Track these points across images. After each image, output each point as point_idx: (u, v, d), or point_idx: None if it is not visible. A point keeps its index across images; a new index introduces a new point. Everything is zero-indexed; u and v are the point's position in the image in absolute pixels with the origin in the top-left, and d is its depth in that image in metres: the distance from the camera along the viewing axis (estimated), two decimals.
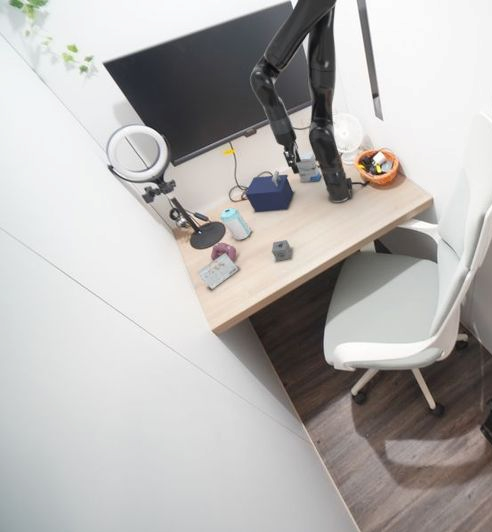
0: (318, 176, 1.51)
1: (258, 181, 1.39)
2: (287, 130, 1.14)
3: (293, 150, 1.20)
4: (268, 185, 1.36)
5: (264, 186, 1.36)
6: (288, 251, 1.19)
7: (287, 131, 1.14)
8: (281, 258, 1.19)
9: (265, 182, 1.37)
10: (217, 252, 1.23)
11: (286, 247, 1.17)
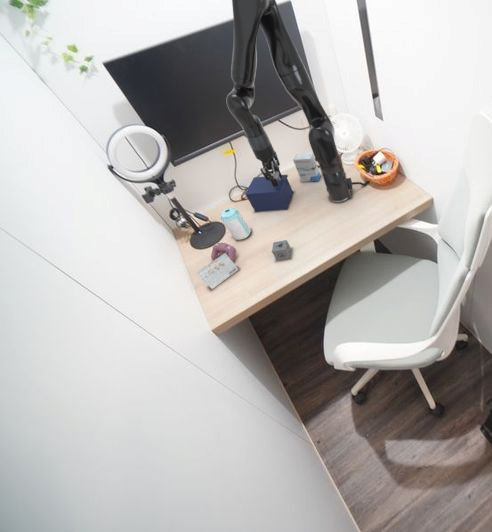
0: (318, 176, 1.51)
1: (258, 181, 1.39)
2: (264, 147, 1.21)
3: (271, 165, 1.27)
4: (268, 185, 1.36)
5: (264, 186, 1.36)
6: (288, 251, 1.19)
7: (264, 148, 1.21)
8: (281, 258, 1.19)
9: (265, 182, 1.37)
10: (217, 252, 1.23)
11: (286, 247, 1.17)
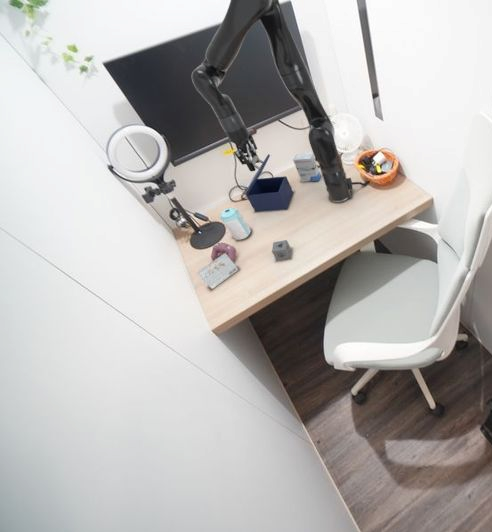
0: (318, 176, 1.51)
1: (253, 177, 1.37)
2: (236, 128, 1.15)
3: (246, 148, 1.22)
4: (256, 174, 1.32)
5: (254, 177, 1.32)
6: (288, 251, 1.19)
7: (236, 129, 1.15)
8: (281, 258, 1.19)
9: (256, 174, 1.34)
10: (217, 252, 1.23)
11: (286, 247, 1.17)
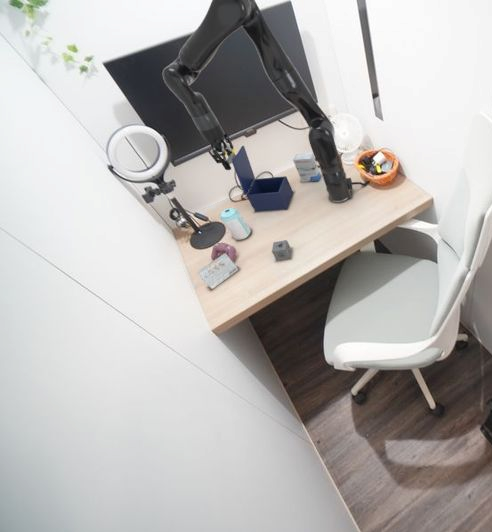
0: (318, 176, 1.51)
1: None
2: (210, 127, 1.15)
3: (221, 147, 1.21)
4: None
5: None
6: (288, 251, 1.19)
7: (210, 128, 1.15)
8: (281, 258, 1.19)
9: None
10: (217, 252, 1.23)
11: (286, 247, 1.17)
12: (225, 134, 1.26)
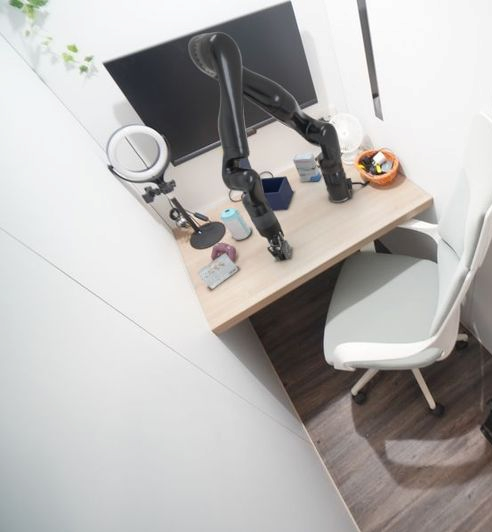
0: (318, 176, 1.51)
1: None
2: (270, 224, 1.06)
3: (278, 241, 1.13)
4: None
5: None
6: (288, 251, 1.19)
7: (270, 225, 1.06)
8: None
9: None
10: (217, 252, 1.23)
11: (286, 247, 1.17)
12: None
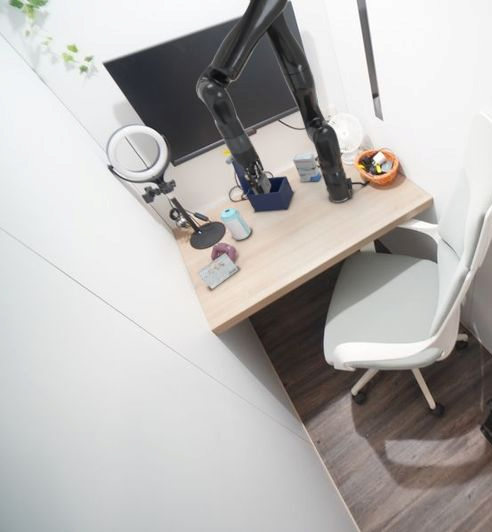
0: (318, 176, 1.51)
1: None
2: (244, 149, 1.02)
3: (254, 170, 1.09)
4: None
5: None
6: (267, 185, 1.15)
7: (245, 150, 1.03)
8: None
9: None
10: (217, 252, 1.23)
11: (264, 180, 1.14)
12: None
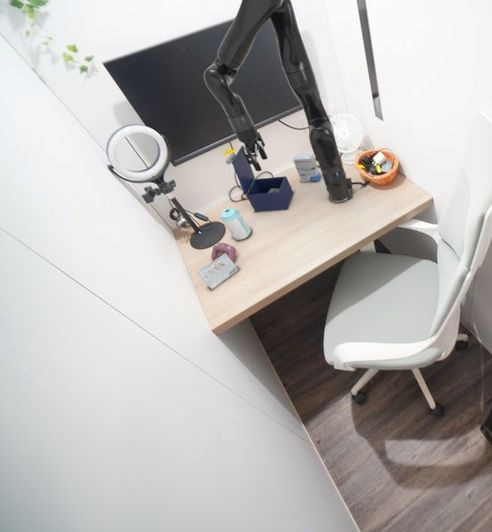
0: (318, 176, 1.51)
1: None
2: (246, 128, 1.15)
3: (254, 148, 1.21)
4: None
5: None
6: None
7: (246, 129, 1.15)
8: None
9: None
10: (217, 252, 1.23)
11: None
12: None
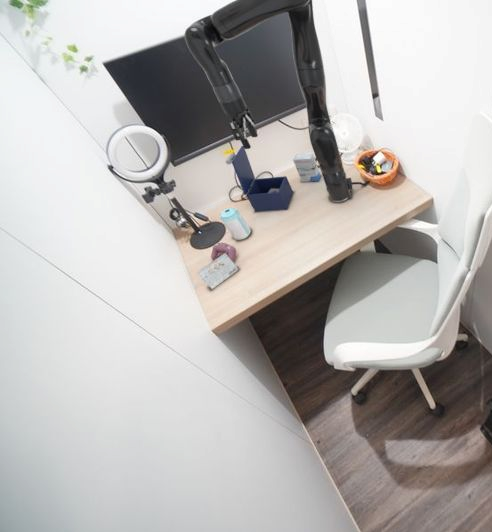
0: (318, 176, 1.51)
1: None
2: (232, 99, 1.04)
3: (242, 122, 1.10)
4: None
5: None
6: None
7: (232, 100, 1.04)
8: None
9: None
10: (217, 252, 1.23)
11: None
12: None
